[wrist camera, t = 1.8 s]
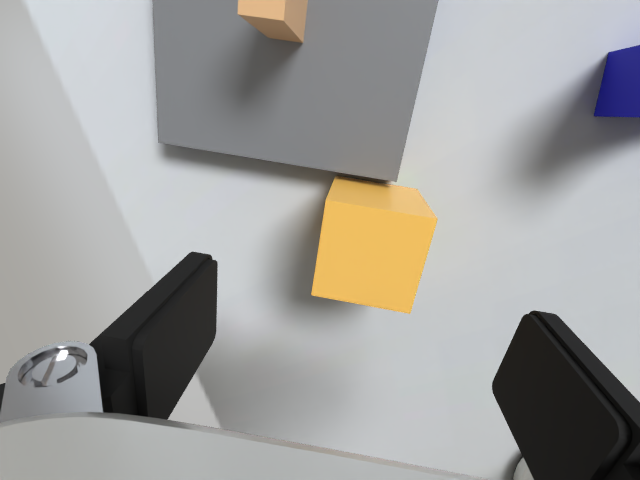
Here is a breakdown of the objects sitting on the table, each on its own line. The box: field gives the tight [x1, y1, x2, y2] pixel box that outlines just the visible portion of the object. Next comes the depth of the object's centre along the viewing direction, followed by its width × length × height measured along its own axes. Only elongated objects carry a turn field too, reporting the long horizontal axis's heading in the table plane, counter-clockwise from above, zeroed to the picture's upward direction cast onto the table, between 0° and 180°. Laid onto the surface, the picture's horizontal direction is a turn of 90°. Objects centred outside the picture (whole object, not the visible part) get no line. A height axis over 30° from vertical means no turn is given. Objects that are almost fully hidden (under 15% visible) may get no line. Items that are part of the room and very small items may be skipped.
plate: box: [153, 0, 438, 182], centre depth 15 cm, size 14×14×6 cm
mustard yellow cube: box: [311, 176, 437, 314], centre depth 18 cm, size 5×5×6 cm
